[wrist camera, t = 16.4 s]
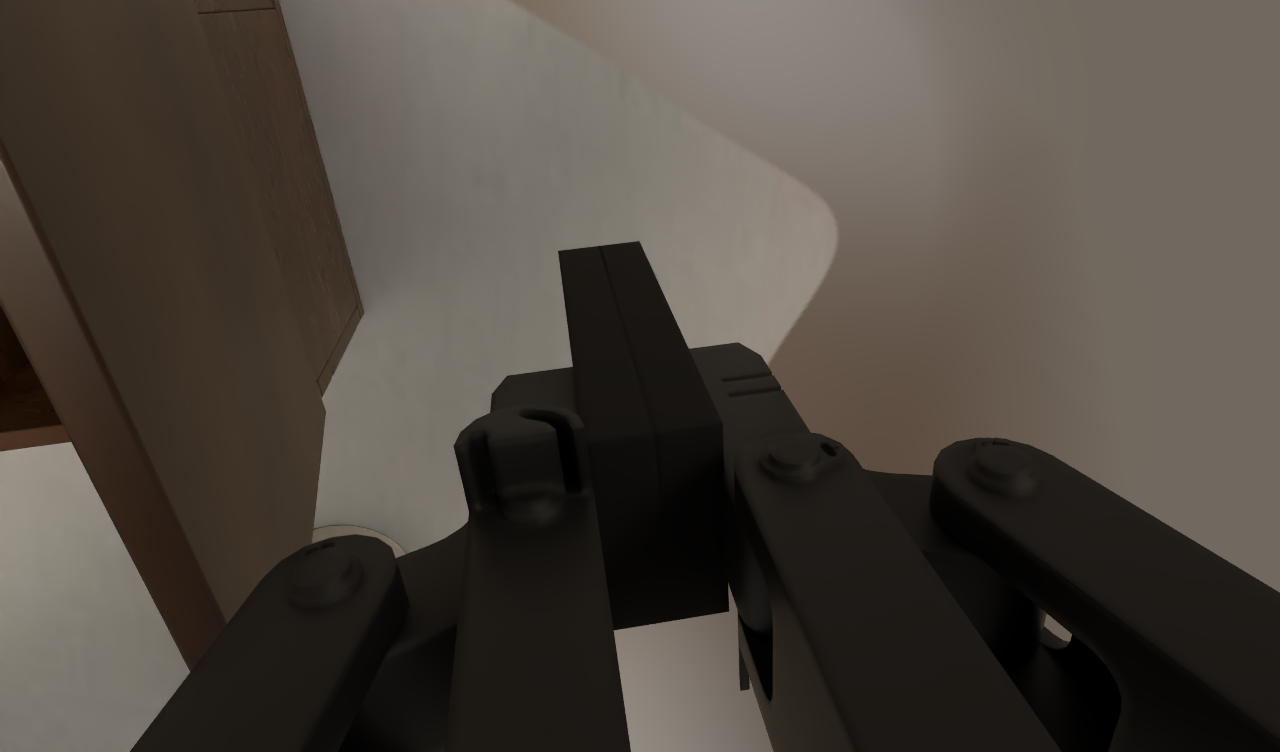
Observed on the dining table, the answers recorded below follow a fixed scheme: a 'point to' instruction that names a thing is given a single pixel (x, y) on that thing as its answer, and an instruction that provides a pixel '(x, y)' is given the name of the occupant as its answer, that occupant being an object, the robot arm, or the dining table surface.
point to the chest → (287, 194)
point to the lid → (155, 299)
